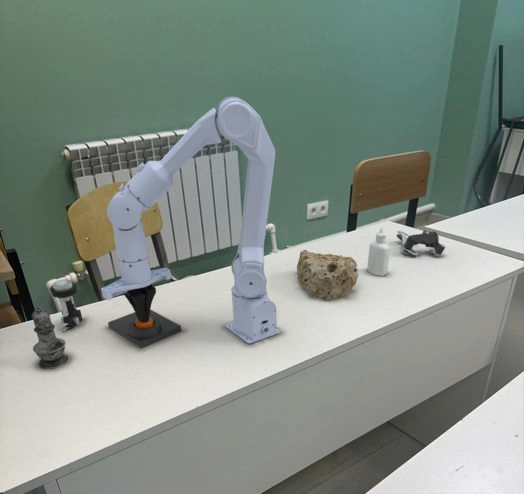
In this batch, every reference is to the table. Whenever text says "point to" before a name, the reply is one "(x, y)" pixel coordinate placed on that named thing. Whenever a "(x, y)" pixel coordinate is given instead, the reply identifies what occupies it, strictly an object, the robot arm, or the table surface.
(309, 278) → the rock
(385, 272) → the eye dropper bottle
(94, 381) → the table surface
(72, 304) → the white black upright piece
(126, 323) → the orange button switch
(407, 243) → the bicycle component
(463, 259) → the table surface
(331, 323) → the table surface
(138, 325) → the round orange button cap
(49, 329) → the grey tiered figurine
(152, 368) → the table surface
